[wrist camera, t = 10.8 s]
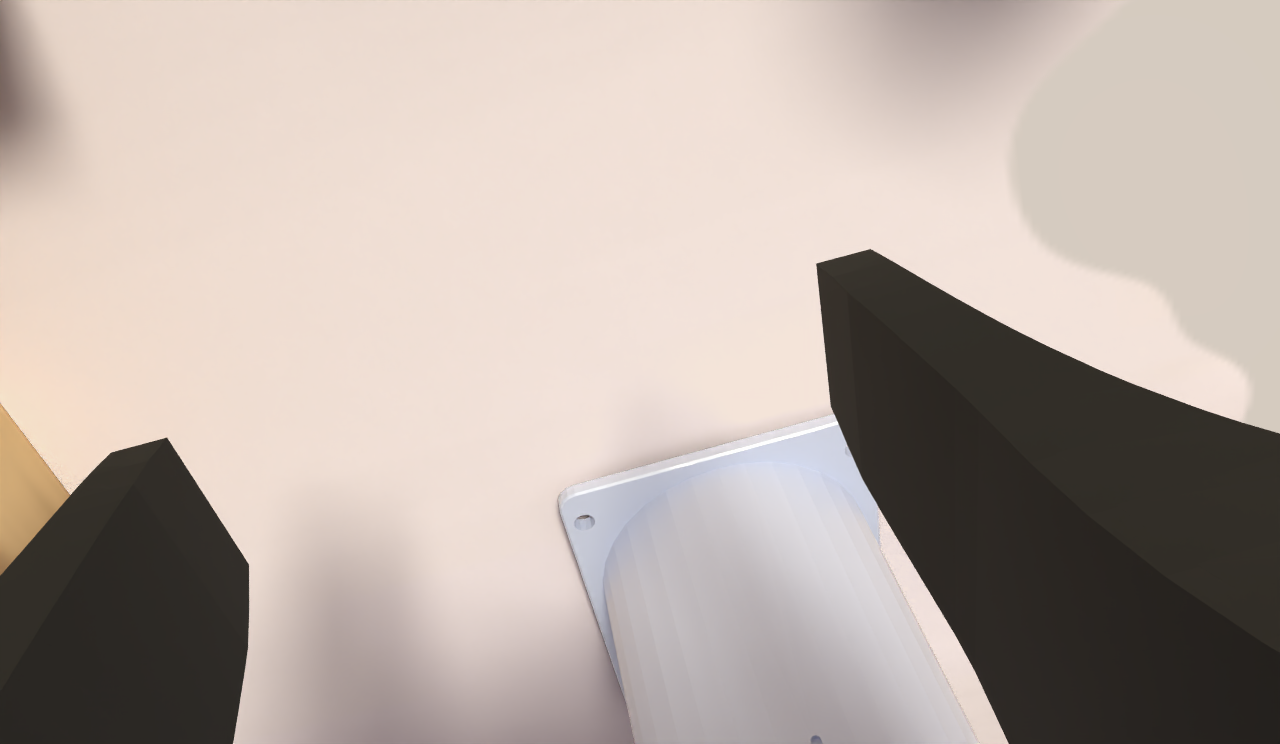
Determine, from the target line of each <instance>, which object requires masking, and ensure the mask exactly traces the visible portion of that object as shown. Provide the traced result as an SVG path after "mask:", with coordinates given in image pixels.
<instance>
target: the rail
mask: <svg viewBox="0 0 1280 744" xmlns="http://www.w3.org/2000/svg"><path fill="white" fill-rule="evenodd" d="M69 496H70V495H69V494H68V492H67V491H66V490H65V488H64V487H63V486H62V484H61V483H60V482H59V480H58V479H57V478H56V476H55V475H54V474H53V472H52V471H51V470H50V469H49V467H48V466H47V465H46V463H45V462H44V461H43V459H42V458H41V457H40V455H39V454H38V453H37V451H36V450H35V449H34V447H33V446H32V445H31V444H30V442H29V441H28V440H27V438H26V437H25V436H24V434H23V433H22V432H21V430H20V429H19V428H18V426H17V425H16V424H15V422H14V421H13V420H12V419H11V417H10V416H9V415H8V413H7V412H6V411H5V409H4V408H3V407H2V405H1V404H0V575H1V574H2V573H3V572H4V571H5V570H6V569H7V567H8V566H9V565H10V564H11V563H12V562H13V561H14V559H15V558H16V557H17V556H18V555H19V554H20V553H21V551H22V550H23V549H24V548H25V547H26V546H27V545H28V543H29V542H30V541H31V540H32V539H33V538H34V537H35V535H36V534H37V533H38V532H39V531H40V530H41V528H42V527H43V526H44V525H45V524H46V523H47V521H48V520H49V519H50V518H51V517H52V516H53V515H54V513H55V512H56V511H57V510H58V509H59V508H60V507H61V505H62V504H63V503H64V502H65V501H66V500H67V499H68V498H69Z"/></svg>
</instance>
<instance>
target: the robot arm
mask: <svg viewBox="0 0 1280 744" xmlns="http://www.w3.org/2000/svg"><path fill="white" fill-rule="evenodd" d="M816 265H817V275H818V285H819V295H820V304H821V314H822V324H823V334H824V343H825V353H826V363H827V373H828V382H829V392H830V402H831V408H832V410H833V412H834V414H832V415H829V416H825V417H821V418H818V419H814V420H810V421H806V422H803V423H799V424H795V425H792V426H788V427H784V428H781V429H777V430H773V431H770V432H766V433H762V434H759V435H755V436H751V437H748V438H744V439H740V440H737V441H733V442H729V443H726V444H722V445H718V446H715V447H711V448H707V449H704V450H700V451H696V452H693V453H689V454H685V455H682V456H678V457H674V458H671V459H667V460H663V461H660V462H656V463H652V464H649V465H645V466H641V467H638V468H634V469H630V470H627V471H623V472H619V473H616V474H612V475H608V476H605V477H601V478H597V479H594V480H590V481H586V482H583V483H579V484H575V485H572V486H570V487H568V488H566V489H565V490H564V491H563V492H561V494H560V496H559V498H558V504H559V510H560V514H561V517H562V520H563V523H564V526H565V529H566V532H567V535H568V538H569V540H570V543H571V546H572V549H573V552H574V555H575V558H576V561H577V563H578V566H579V569H580V572H581V575H582V578H583V581H584V584H585V587H586V589H587V592H588V595H589V598H590V601H591V604H592V607H593V610H594V613H595V615H596V618H597V621H598V624H599V627H600V630H601V633H602V636H603V639H604V641H605V644H606V647H607V650H608V653H609V656H610V659H611V662H612V664H613V667H614V670H615V673H616V676H617V679H618V682H619V685H620V688H621V690H622V693H623V696H624V699H625V702H626V705H627V708H628V713H629V718H630V723H631V728H632V733H633V738H634V743H635V744H980V742H979V741H978V739H977V737H976V735H975V733H974V731H973V729H972V727H971V725H970V723H969V721H968V719H967V717H966V715H965V713H964V711H963V709H962V707H961V705H960V703H959V701H958V699H957V697H956V696H955V694H954V692H953V690H952V688H951V686H950V684H949V682H948V680H947V678H946V676H945V674H944V672H943V670H942V668H941V666H940V664H939V662H938V660H937V658H936V656H935V654H934V652H933V650H932V649H931V647H930V645H929V643H928V641H927V639H926V637H925V635H924V633H923V631H922V629H921V627H920V625H919V623H918V621H917V619H916V617H915V615H914V613H913V611H912V609H911V607H910V605H909V603H908V602H907V600H906V598H905V596H904V594H903V592H902V590H901V588H900V586H899V584H898V582H897V580H896V578H895V576H894V574H893V572H892V570H891V568H890V566H889V564H888V562H887V560H886V558H885V556H884V555H883V553H882V551H881V544H880V530H879V516H878V507H879V509H880V510H881V512H882V514H883V515H884V517H885V519H886V520H887V522H888V524H889V525H890V527H891V529H892V530H893V532H894V534H895V536H896V537H897V539H898V541H899V542H900V544H901V546H902V547H903V549H904V550H905V552H906V554H907V555H908V557H909V559H910V560H911V562H912V564H913V565H914V567H915V569H916V570H917V572H918V574H919V575H920V577H921V579H922V580H923V582H924V584H925V585H926V587H927V589H928V590H929V592H930V594H931V595H932V597H933V599H934V600H935V602H936V604H937V605H938V607H939V609H940V610H941V612H942V614H943V615H944V617H945V619H946V620H947V622H948V624H949V625H950V627H951V629H952V630H953V632H954V634H955V635H956V637H957V639H958V641H959V643H960V645H961V646H962V648H963V650H964V652H965V654H966V656H967V657H968V659H969V661H970V663H971V665H972V667H973V669H974V670H975V672H976V674H977V676H978V679H979V681H980V683H981V685H982V687H983V689H984V691H985V694H986V696H987V698H988V700H989V702H990V704H991V706H992V709H993V711H994V713H995V715H996V717H997V719H998V721H999V724H1000V726H1001V728H1002V730H1003V732H1004V734H1005V736H1006V739H1007V741H1008V743H1009V744H1280V434H1279V433H1275V432H1272V431H1269V430H1265V429H1262V428H1259V427H1255V426H1252V425H1248V424H1245V423H1241V422H1238V421H1235V420H1232V419H1229V418H1226V417H1223V416H1220V415H1217V414H1214V413H1211V412H1208V411H1205V410H1202V409H1199V408H1196V407H1193V406H1191V405H1188V404H1185V403H1183V402H1180V401H1177V400H1174V399H1172V398H1169V397H1166V396H1164V395H1161V394H1158V393H1156V392H1153V391H1150V390H1147V389H1145V388H1142V387H1139V386H1137V385H1134V384H1132V383H1129V382H1127V381H1124V380H1122V379H1119V378H1117V377H1115V376H1112V375H1110V374H1107V373H1105V372H1103V371H1100V370H1098V369H1096V368H1094V367H1092V366H1089V365H1087V364H1085V363H1083V362H1081V361H1078V360H1076V359H1074V358H1072V357H1070V356H1068V355H1065V354H1063V353H1061V352H1059V351H1057V350H1054V349H1052V348H1050V347H1048V346H1046V345H1044V344H1042V343H1040V342H1038V341H1036V340H1034V339H1032V338H1030V337H1028V336H1026V335H1024V334H1022V333H1020V332H1018V331H1016V330H1014V329H1012V328H1010V327H1008V326H1006V325H1004V324H1002V323H1000V322H999V321H997V320H995V319H993V318H991V317H989V316H987V315H986V314H984V313H982V312H980V311H978V310H976V309H974V308H973V307H971V306H969V305H967V304H965V303H964V302H962V301H960V300H958V299H956V298H955V297H953V296H951V295H950V294H948V293H946V292H944V291H943V290H941V289H939V288H937V287H936V286H934V285H932V284H930V283H929V282H927V281H925V280H923V279H922V278H920V277H918V276H917V275H915V274H913V273H911V272H910V271H908V270H906V269H905V268H903V267H901V266H899V265H898V264H896V263H894V262H893V261H891V260H889V259H887V258H886V257H884V256H882V255H880V254H878V253H877V252H875V251H873V250H871V249H869V250H866V251H862V252H858V253H854V254H851V255H847V256H843V257H839V258H836V259H832V260H828V261H824V262H821V263H817V264H816ZM846 446H848V447H846ZM582 515H589V516H590V517H588V518H586V519H577V518H578V517H580V516H582ZM248 628H249V564H248V563H247V561H246V559H245V558H244V556H243V555H242V553H241V552H240V550H239V549H238V547H237V545H236V544H235V542H234V541H233V539H232V538H231V536H230V535H229V533H228V531H227V530H226V528H225V527H224V525H223V524H222V522H221V521H220V519H219V518H218V516H217V514H216V513H215V511H214V510H213V508H212V507H211V505H210V504H209V502H208V500H207V499H206V497H205V496H204V494H203V493H202V491H201V490H200V488H199V487H198V485H197V483H196V482H195V480H194V479H193V477H192V476H191V474H190V473H189V471H188V469H187V468H186V466H185V465H184V463H183V462H182V460H181V459H180V457H179V455H178V454H177V452H176V451H175V449H174V448H173V446H172V445H171V443H170V442H169V440H168V438H164V439H160V440H157V441H153V442H149V443H145V444H142V445H138V446H134V447H130V448H127V449H123V450H119V451H116V452H112V453H110V454H109V455H108V456H107V457H106V458H105V459H104V460H103V461H102V462H101V463H100V464H99V465H98V466H97V467H96V468H95V469H94V470H93V471H92V472H91V473H90V474H89V475H88V477H87V478H86V479H85V480H84V481H83V482H82V483H81V484H80V485H79V486H78V487H77V489H76V490H75V491H74V492H73V493H72V494H71V495H70V496H69V498H68V499H67V500H66V501H65V502H64V503H63V504H62V505H61V507H60V508H59V509H58V510H57V511H56V512H55V513H54V515H53V516H52V517H51V518H50V519H49V520H48V521H47V523H46V524H45V525H44V526H43V527H42V528H41V530H40V531H39V532H38V533H37V534H36V535H35V537H34V538H33V539H32V540H31V541H30V542H29V543H28V545H27V546H26V547H25V548H24V549H23V550H22V551H21V553H20V554H19V555H18V556H17V557H16V558H15V559H14V561H13V562H12V563H11V564H10V565H9V566H8V567H7V569H6V570H5V571H4V572H3V573H2V574H1V575H0V744H233V740H234V734H235V728H236V722H237V716H238V710H239V703H240V697H241V691H242V684H243V678H244V672H245V665H246V658H247V651H248Z"/></svg>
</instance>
